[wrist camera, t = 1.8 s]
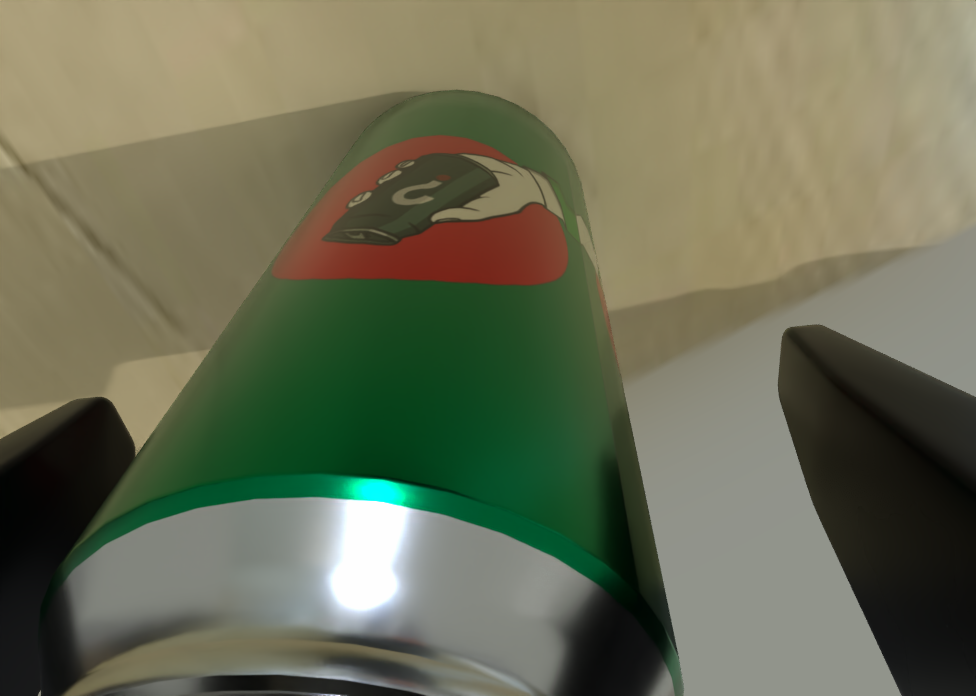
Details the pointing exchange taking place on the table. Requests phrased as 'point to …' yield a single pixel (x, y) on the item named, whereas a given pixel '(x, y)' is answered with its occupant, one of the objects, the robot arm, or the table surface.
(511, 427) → the soda can
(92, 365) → the table surface
